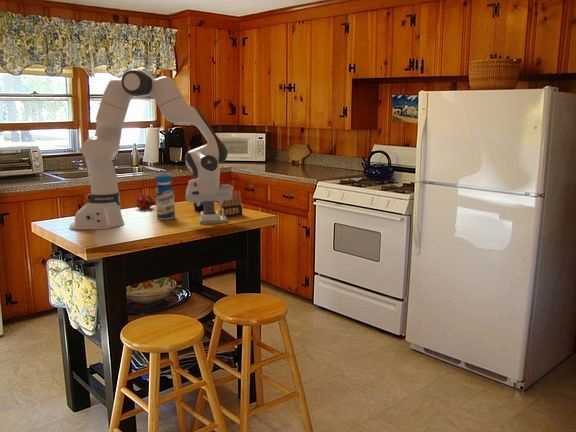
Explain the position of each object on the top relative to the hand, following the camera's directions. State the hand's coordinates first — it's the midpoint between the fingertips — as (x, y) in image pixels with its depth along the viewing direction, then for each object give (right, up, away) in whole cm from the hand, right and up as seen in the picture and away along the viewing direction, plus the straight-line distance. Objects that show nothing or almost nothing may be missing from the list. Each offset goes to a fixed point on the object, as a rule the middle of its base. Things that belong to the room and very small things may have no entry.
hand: (208, 204), depth 249 cm
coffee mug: (-6, -3, +27) cm, 27 cm away
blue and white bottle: (-21, -6, +9) cm, 24 cm away
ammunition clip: (+9, -5, +11) cm, 16 cm away
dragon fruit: (-37, -2, +33) cm, 50 cm away
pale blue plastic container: (+2, -7, +1) cm, 8 cm away
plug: (0, -6, +1) cm, 6 cm away
